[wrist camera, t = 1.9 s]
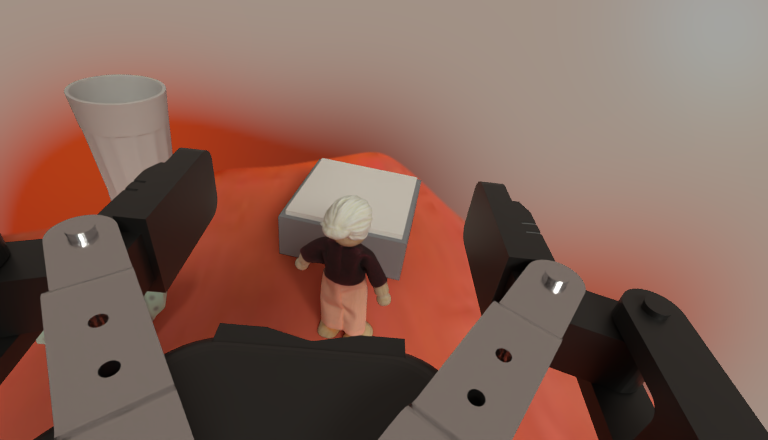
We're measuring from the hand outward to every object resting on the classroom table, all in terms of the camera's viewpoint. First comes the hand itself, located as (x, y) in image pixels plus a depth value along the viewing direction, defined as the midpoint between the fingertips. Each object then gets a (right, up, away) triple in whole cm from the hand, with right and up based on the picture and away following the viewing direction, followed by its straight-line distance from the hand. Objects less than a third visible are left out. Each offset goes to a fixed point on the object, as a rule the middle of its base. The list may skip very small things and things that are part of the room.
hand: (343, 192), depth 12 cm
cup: (-25, +2, +32) cm, 40 cm away
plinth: (-2, -2, +31) cm, 32 cm away
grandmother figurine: (-3, -10, +21) cm, 23 cm away
